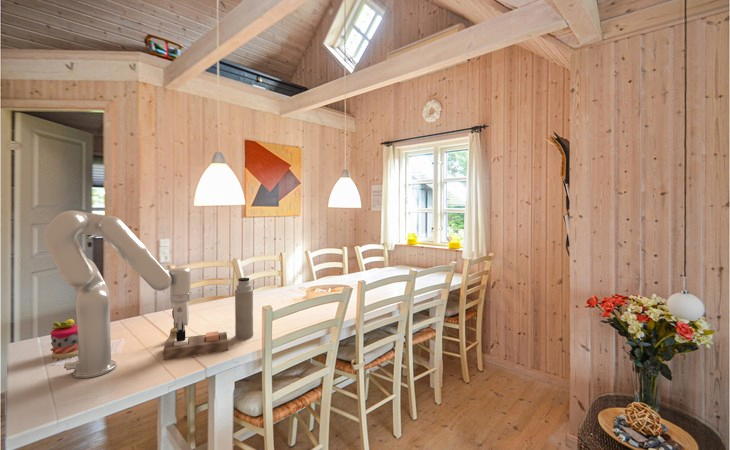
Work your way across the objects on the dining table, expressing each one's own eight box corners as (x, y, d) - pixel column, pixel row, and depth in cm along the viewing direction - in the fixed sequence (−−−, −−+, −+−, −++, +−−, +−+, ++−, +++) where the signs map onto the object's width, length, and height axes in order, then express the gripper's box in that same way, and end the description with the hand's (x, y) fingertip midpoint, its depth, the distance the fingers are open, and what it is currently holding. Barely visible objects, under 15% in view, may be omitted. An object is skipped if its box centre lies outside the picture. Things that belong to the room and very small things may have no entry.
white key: (174, 350, 142) (173, 343, 142) (175, 345, 146) (174, 339, 146) (187, 348, 144) (187, 341, 144) (188, 344, 149) (188, 337, 148)
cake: (57, 351, 144) (56, 316, 143) (88, 347, 148) (87, 313, 148) (46, 362, 135) (45, 324, 134) (79, 357, 139) (78, 321, 138)
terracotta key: (206, 343, 147) (205, 336, 147) (206, 339, 151) (205, 332, 151) (218, 341, 149) (218, 335, 149) (218, 337, 153) (218, 331, 153)
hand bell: (177, 344, 153) (176, 309, 152) (161, 343, 154) (160, 308, 154) (190, 337, 161) (190, 304, 160) (175, 336, 163) (174, 303, 162)
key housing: (163, 360, 137) (163, 350, 137) (166, 348, 148) (166, 339, 148) (227, 350, 147) (227, 341, 147) (226, 340, 158) (226, 331, 158)
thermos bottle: (247, 332, 169) (247, 275, 168) (256, 336, 164) (256, 278, 162) (232, 336, 163) (231, 278, 162) (240, 341, 158) (240, 280, 156)
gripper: (189, 300, 139) (190, 345, 140) (191, 292, 152) (191, 333, 153) (168, 302, 136) (169, 348, 137) (172, 293, 149) (172, 335, 150)
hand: (181, 340), depth 145 cm, fingers closed
